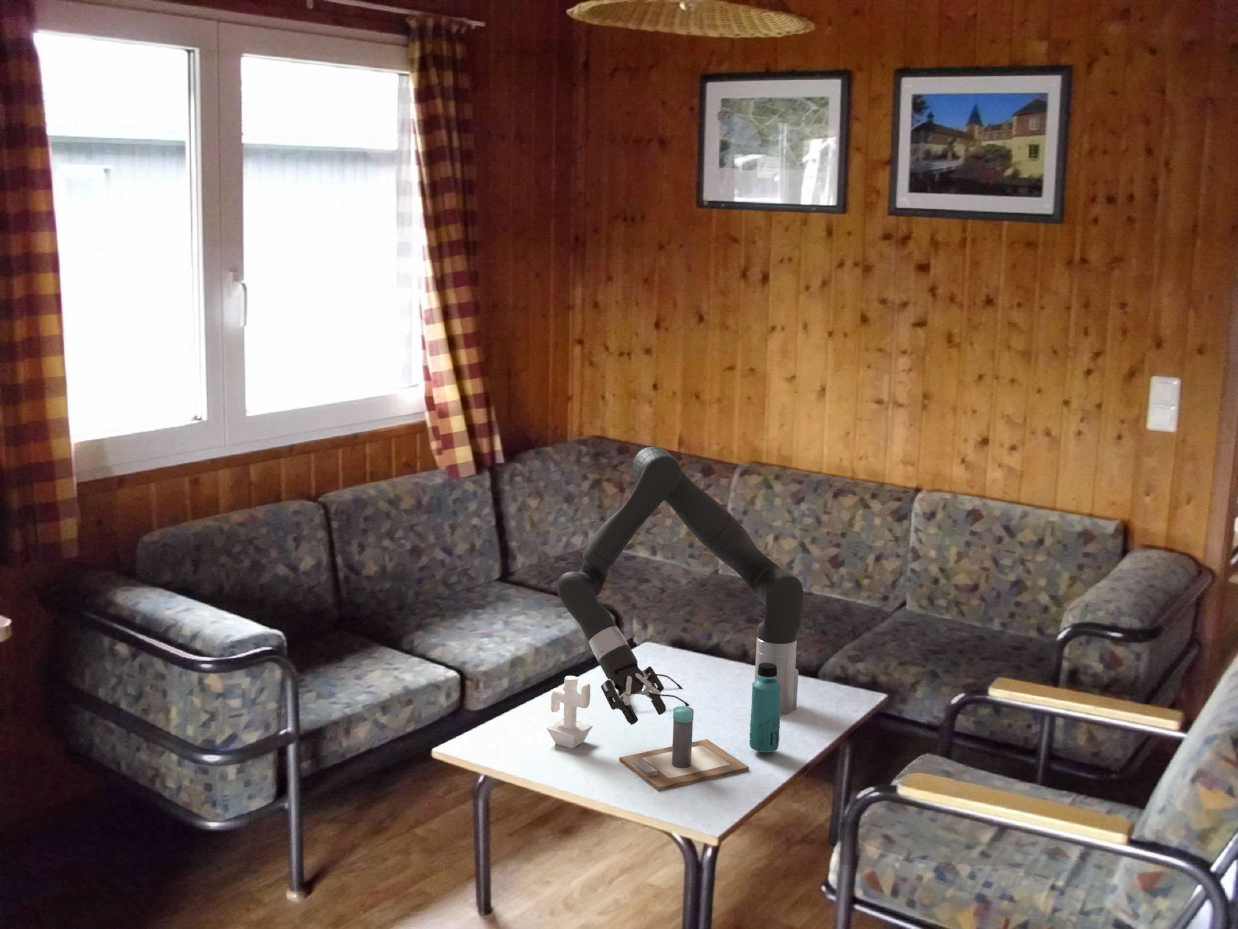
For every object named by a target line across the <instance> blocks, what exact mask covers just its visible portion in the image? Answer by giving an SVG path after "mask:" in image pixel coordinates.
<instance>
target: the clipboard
mask: <svg viewBox="0 0 1238 929" xmlns="http://www.w3.org/2000/svg"><path fill="white" fill-rule="evenodd" d="M672 747H673V745H671V746H667V747H662V748H658V749H652V750H649V751H642V752H639V753H634V754H633V753H632V754H629V755H623V756H620V757H618V761H619V762H620V763H621V764H622V765H624V766H625V767H627V768H628V769H629V770H630V771H632V772H633V773H634V774H636V775H637V776H638V777H639V778H641V779H642V780H643V781H645V782H646V783H647V784H648V785H650V786H651V787H653V788H654V789H655V790H657V791H658V792H660V791H664V790H669V789H673V788H678V787H682V786H683V787H684V786H687V785H691V784H696V783H700V782H705V781H710V780H713V779H718V778H722V777H726V776H732V775H735V774H739V773H744V772H749V771H750V766H749V765H747V764H746V763H744V762H742V761H741V760H739V759H738V758H737V757H736V756H733V755H732V754H730V753H728V752H727V751H726V750H725V749H723V748H721V747H720V746H718V745H717V744H715V743H714V742H712V741H711V740H709V739H708V738H705V739H701V740H696V741H692V753H691V766H690V767H688V768H676V767H674V766H673V765H672Z"/></svg>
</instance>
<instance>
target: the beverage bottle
mask: <svg viewBox="0 0 1238 929" xmlns="http://www.w3.org/2000/svg"><path fill="white" fill-rule="evenodd" d="M758 675H760V676H762V677H759V678H758V679H756V680H755V679H754V681H753V682H751V683H752V684H751V685H752V687H751V688H752V689H751V705H750V706H751V709H750V720H749V721H750V723H749V740H748V742H749V745H750V746H749V747H750V748H751V749H752V750H754V751H757V752H761V753H772V752H776V751H777V750H778V749H779V747H780V739H781V736H780V729H781V728H780V727H781V715H780V711H781V710H780V709H781V708H780V707H781V687H782V686H781V684H780V682H779V681H778V680H776V679H775V678H772V677H775V676H777V666H776V665H775V664H773V663H768V662H765V663H760V664H759V666H758Z"/></svg>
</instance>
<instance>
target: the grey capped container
mask: <svg viewBox="0 0 1238 929" xmlns="http://www.w3.org/2000/svg"><path fill="white" fill-rule="evenodd" d="M694 711H695V710H694V709H693V708H692V707H690V706H688V705H681V706H680V705H679V706H676V707H674V708H673V713H672V714H673V715H672V719H673V722H672V724H673V727H672V746H673V747H672V765H673V766H674V767H676V768H688V767H690V766H691V753H692V742H693V729H694V728H693V724H694V723H693V722H694Z"/></svg>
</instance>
